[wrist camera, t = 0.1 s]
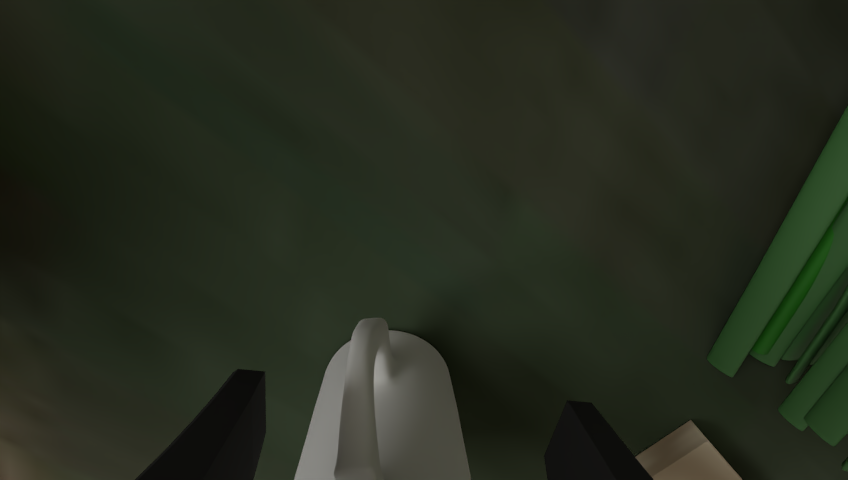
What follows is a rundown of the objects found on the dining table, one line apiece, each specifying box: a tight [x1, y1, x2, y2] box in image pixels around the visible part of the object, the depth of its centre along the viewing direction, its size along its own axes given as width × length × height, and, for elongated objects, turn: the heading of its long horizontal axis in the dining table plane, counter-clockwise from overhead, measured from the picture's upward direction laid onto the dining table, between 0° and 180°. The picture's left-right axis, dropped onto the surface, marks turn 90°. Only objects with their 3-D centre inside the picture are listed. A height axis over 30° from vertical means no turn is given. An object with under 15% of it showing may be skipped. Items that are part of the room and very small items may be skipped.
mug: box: [294, 318, 471, 480], centre depth 17 cm, size 10×7×12 cm, turn 4°
